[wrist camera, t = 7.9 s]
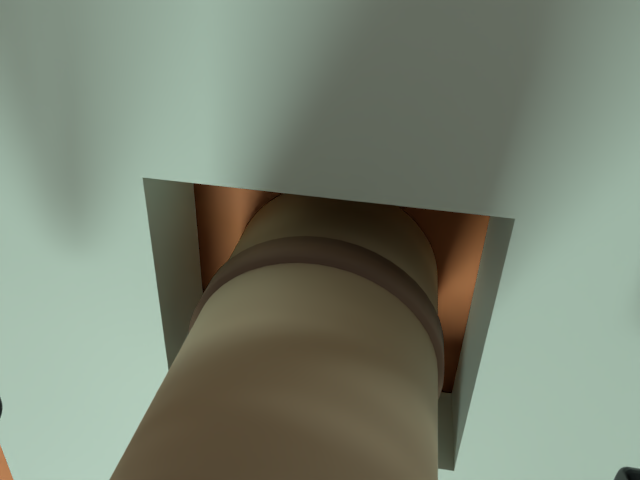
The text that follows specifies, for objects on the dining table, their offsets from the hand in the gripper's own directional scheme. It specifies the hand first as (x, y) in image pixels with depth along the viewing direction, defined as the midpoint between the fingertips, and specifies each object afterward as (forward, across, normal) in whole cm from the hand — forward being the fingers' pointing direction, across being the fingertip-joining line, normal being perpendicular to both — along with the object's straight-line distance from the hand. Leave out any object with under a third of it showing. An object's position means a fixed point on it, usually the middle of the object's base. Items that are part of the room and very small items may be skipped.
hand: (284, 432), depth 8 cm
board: (+4, 0, +2) cm, 4 cm away
